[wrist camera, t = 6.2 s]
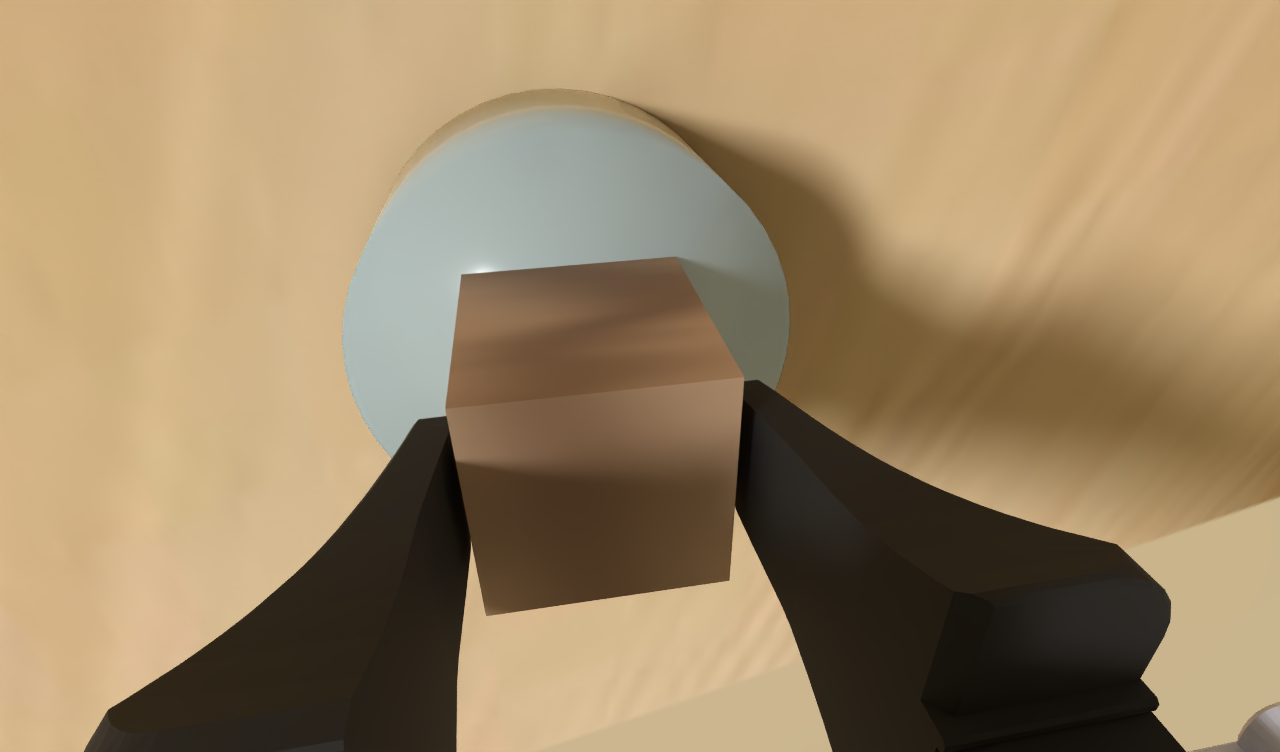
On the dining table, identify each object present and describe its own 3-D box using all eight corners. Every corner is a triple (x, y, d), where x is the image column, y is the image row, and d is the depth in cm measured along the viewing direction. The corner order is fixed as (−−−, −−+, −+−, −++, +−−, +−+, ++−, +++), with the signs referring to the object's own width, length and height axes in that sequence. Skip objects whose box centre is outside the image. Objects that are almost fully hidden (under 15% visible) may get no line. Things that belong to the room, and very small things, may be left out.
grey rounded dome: (750, 92, 18) (826, 134, 14) (711, 409, 23) (758, 509, 19) (348, 81, 17) (298, 126, 12) (401, 426, 22) (378, 541, 17)
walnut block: (675, 256, 15) (743, 377, 11) (673, 426, 17) (729, 580, 13) (461, 273, 14) (445, 409, 10) (490, 447, 17) (486, 615, 12)
